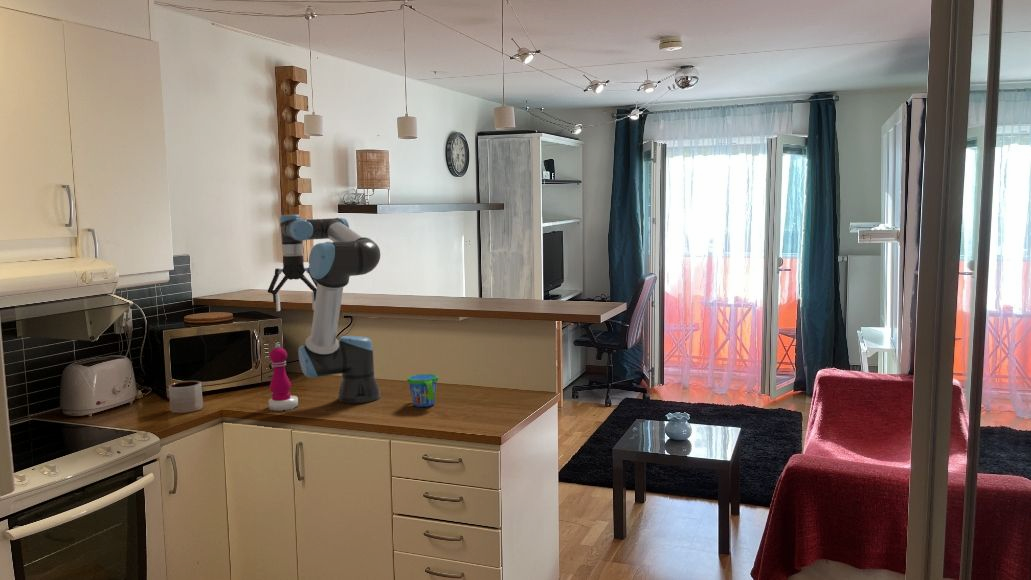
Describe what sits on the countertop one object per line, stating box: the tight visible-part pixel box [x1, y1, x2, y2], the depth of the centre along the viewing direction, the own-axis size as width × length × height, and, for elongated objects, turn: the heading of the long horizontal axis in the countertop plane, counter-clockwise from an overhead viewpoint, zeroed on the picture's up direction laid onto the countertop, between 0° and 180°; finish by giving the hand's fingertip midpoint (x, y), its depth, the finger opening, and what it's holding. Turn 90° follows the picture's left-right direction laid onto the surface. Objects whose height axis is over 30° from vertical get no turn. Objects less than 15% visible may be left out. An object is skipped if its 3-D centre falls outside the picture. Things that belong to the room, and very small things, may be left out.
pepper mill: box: [269, 343, 292, 401], centre depth 277 cm, size 7×7×20 cm
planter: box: [168, 380, 204, 414], centre depth 278 cm, size 11×11×10 cm
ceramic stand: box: [268, 395, 299, 412], centre depth 278 cm, size 10×10×3 cm
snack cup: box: [406, 373, 439, 408], centre depth 274 cm, size 16×10×10 cm
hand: (296, 310), depth 298 cm, fingers open, 13 cm apart
